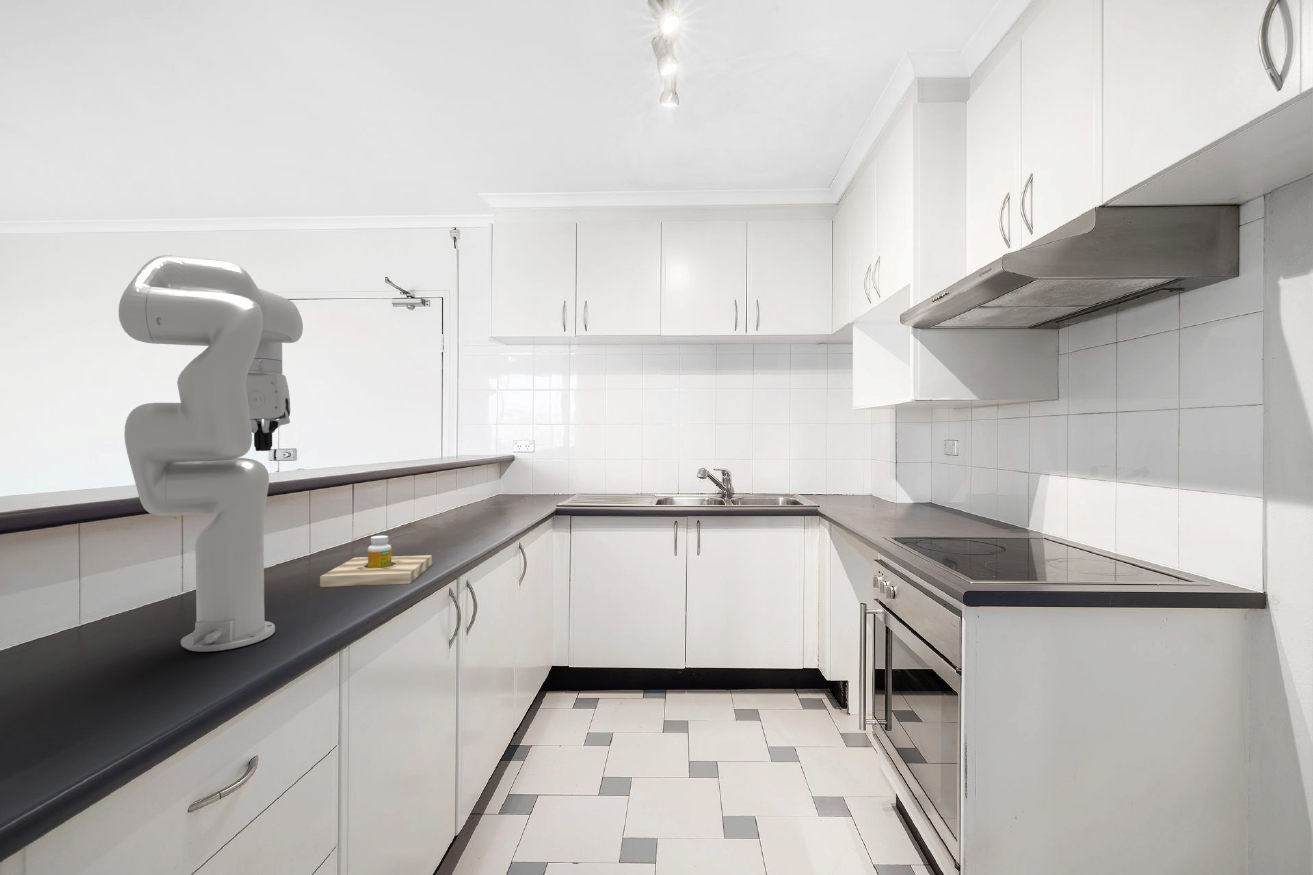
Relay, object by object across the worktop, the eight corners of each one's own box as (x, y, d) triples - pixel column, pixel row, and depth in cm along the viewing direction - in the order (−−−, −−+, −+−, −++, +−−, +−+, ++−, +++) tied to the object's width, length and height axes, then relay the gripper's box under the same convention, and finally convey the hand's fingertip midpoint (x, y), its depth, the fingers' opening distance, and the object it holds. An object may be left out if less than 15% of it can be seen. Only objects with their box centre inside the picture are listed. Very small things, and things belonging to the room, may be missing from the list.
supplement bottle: (382, 578, 141) (381, 538, 141) (362, 577, 142) (362, 538, 142) (396, 572, 147) (395, 535, 146) (377, 571, 148) (377, 534, 148)
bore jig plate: (409, 583, 136) (409, 573, 136) (320, 586, 133) (320, 576, 133) (431, 564, 156) (431, 555, 156) (354, 566, 153) (354, 557, 153)
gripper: (215, 366, 123) (216, 451, 123) (289, 367, 125) (290, 451, 125) (236, 370, 131) (237, 450, 131) (306, 370, 132) (307, 450, 133)
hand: (263, 450), depth 128 cm, fingers closed
